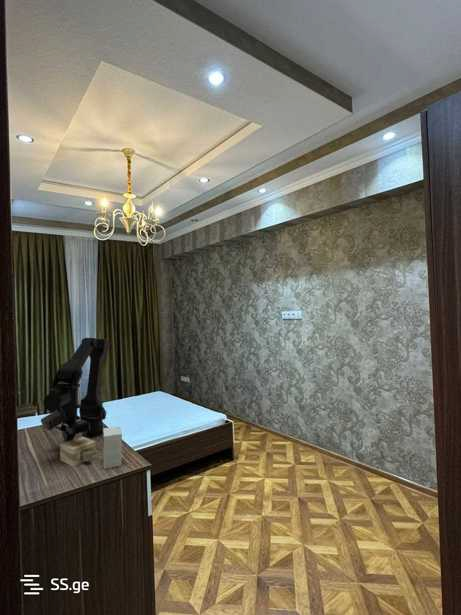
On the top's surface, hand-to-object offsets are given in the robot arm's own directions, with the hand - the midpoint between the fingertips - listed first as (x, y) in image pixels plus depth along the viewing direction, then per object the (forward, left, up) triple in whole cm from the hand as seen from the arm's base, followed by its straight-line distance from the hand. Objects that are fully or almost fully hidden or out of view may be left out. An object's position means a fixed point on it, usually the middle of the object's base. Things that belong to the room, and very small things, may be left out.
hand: (67, 446), depth 113 cm
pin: (0, +7, -3) cm, 7 cm away
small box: (-5, +19, -3) cm, 20 cm away
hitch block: (0, +7, -3) cm, 7 cm away
